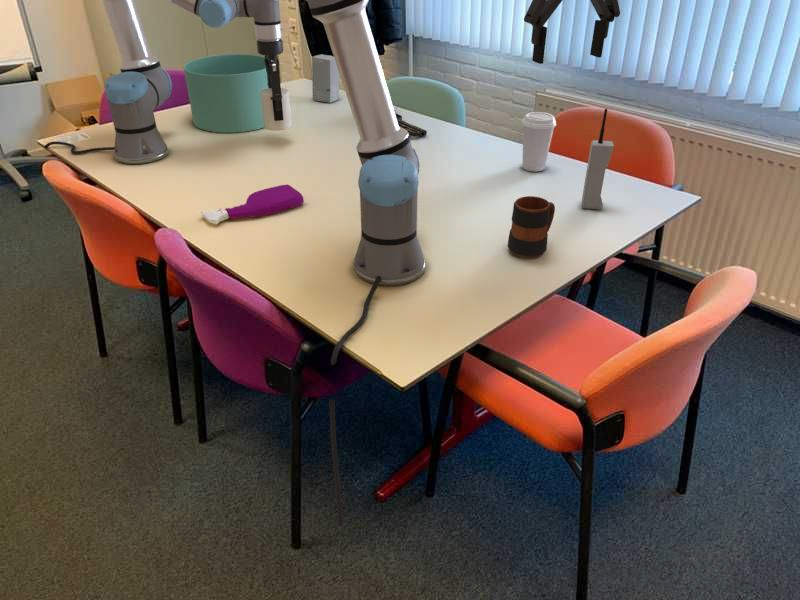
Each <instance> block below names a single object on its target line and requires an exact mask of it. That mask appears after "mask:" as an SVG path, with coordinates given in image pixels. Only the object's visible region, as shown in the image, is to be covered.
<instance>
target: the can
mask: <svg viewBox="0 0 800 600" xmlns="http://www.w3.org/2000/svg"><path fill="white" fill-rule="evenodd" d="M260 93H261V102H262V111H263V120H264V128H263V129H266V130H267V131H273V132H274V131H275V132H279V131H285V130H289V129H291V128H293V122H292V121H293V120H292V110H291V109H292V108H291V100H290V99H291V98H290V90H289V89H288V88H284V87H281V94H282V109H283V120H280V121H275V120H274V112H273V102H272V100H271V99H270V98H271V97H273V96H272V89H271V88H268V89H264V90H262V91H261V92H260ZM276 95H279V94H276Z"/></svg>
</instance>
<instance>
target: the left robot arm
mask: <svg viewBox="0 0 800 600" xmlns="http://www.w3.org/2000/svg"><path fill="white" fill-rule="evenodd" d="M101 1H102V4H103V7H104V10H105V13H106V15H107V19H108V21H109V25H110V28H111V30H112V33H113V36H114V39H115V42H116V44H117V47H118V51H119V53H120V56H121V59H122V61H121V64H120V65H119V70H120V72H119V73H118V74H117V73H115V74H112V75H111V76H109V77H108V78H106V80H105V82H104V90H105V92H104V93H105V98H106V101H107V104H108V108H109V112H110V115H111V120H112V124H113V128H114V131H115V138H114V146H107V147H94V148H88V149H83V150H82V149H81V150H76V145H75V144H73V143H69V142H66V141H65V142H64V141H50V142H48V143H46V144H45V145H44V146H43V149H48V148H49V147H50V146H52V145H53V146H54V145H60V146H67V147H70V148H71V149H70V153H72V154H75V155H80V154H81V155H82V154H86V153H90V152H98V151H113V155H114V157H115V160H116V161H117V162H118V163H121V164H125V165H142V164H149V163H155V162H157V161H160V160H162V159H164V158H165V157H167V156H168V154H169V149H168V146H167V144H166V142H165V141H164V139H163V137H162V135H161V133H160V131H159V130H158V126H157V122H156V118H155V114H154V111H155V110H156V109H158V108H160V106H162V105H164V104H165V103H166V102H167V101H168V100H169V98H170V96H171V94H172V90H173V83H172V78H171V76H170V75H169V73H168V72H167V70H165V69H164V68H163V66H162V65H161V63H160V60H159V58H157V57H156V56H155V55H153V54H152V51H151V48H150V44H149V40H148V39H147V35H146V31H145V29H144V25H143V23H142V19H141V16H140V13H139V10H138V7H137V3H136V0H101ZM167 2H170V3H172V4H174V5H176V6H178V7H179V8H182V9H183V10H186V11H188V12H190V13H192V14H194V15H196V16H197V17H200V19H201V21H202V22H203V23H204V25H206V26H207V27H210V28H213V29H216V28H218V29H219V28H222V27H225V26H226V25H227V24H229V23H230V22H231V21H233V20H234V19H236V18H253V20H254V33H255V39H257V40H256V48H257V53H258V55H260V56H264V57H265V59H264V62H265V65H266V72H267V81H268V84H267V85H268V86H269V87H268V88H271V89H272V96H273V97H271V98H270V99H271V100H272V102H273V112H274V120H275V121H280V120H283V109H282V94H281V88H282V85H281V79H280V78H281V77H280V75H281V74H280V61H279V59H278V57H277V55H281V54H283V53H284V43H283V40H282V37H283V33H282V30H284V26H282V24H281V23H282V22H281V21H282V20H281V10H280V9H281V8H280V0H167ZM276 94H279V95H276Z"/></svg>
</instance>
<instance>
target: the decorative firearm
mask: <svg viewBox="0 0 800 600" xmlns="http://www.w3.org/2000/svg"><path fill="white" fill-rule="evenodd" d="M393 108H394V111H395V115H396V118H397V122H398V125H399V126H400V127H401V128H403V129H405V130H407V132H408V134H409V136H411V137H415V138H416V137H419V138H424V137H426V136H427V132H428V130H426V129H423V128H421V127H420V126H416V125H413V124H411V123H409V122H406V121H405V120H403V115H401V114H399V113H397V110H398V107H397V105H393Z"/></svg>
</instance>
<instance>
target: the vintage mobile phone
mask: <svg viewBox="0 0 800 600" xmlns="http://www.w3.org/2000/svg"><path fill="white" fill-rule="evenodd" d="M607 115H608V108H604V111H603V116H602V117H603V118H602V123H601V127H600V131H599V137H598V139H593V140H591V143H590V149H589V154H588V160H587V165H586V173H585V178H584V183H583V190H582V195H581V196H582V197H581V208H582V209H586V210H587V209H589V210H599V211H600V210H603V207H604V205H603V204H604V203H603V199H602V196H601V195H602V190H603V185H604V179H605V174H606V169H607V168H608V167H609V166H610V165H609V164H610V161H611V158H612V155H613V151H614V146H615V145H614V141H613V140H604V134H605V126H606V120H607Z"/></svg>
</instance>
